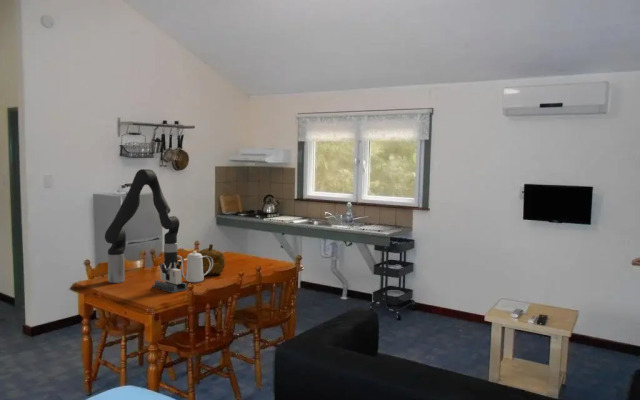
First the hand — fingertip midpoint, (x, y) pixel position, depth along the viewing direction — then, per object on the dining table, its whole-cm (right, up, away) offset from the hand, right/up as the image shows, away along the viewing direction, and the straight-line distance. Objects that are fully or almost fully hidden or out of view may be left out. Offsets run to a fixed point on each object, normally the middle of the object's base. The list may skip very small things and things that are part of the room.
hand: (171, 279), depth 305 cm
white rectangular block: (0, -1, 0) cm, 1 cm away
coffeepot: (+9, -4, +19) cm, 21 cm away
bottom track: (0, -5, 0) cm, 5 cm away
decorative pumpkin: (+15, -2, +39) cm, 42 cm away
